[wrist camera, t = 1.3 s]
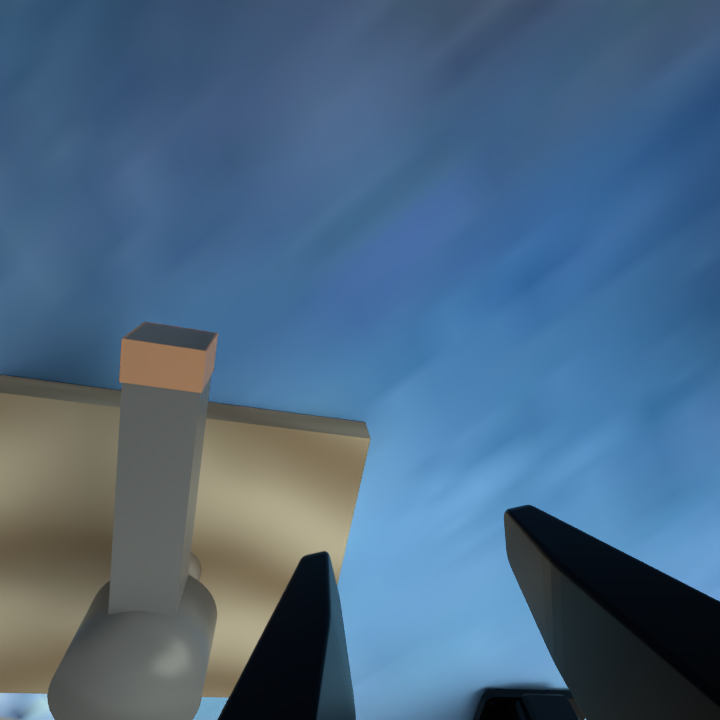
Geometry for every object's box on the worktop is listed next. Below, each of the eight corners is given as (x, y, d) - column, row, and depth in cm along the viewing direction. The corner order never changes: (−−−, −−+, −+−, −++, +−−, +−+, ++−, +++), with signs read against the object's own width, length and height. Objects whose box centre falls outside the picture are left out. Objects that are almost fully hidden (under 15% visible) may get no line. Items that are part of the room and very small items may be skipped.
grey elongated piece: (210, 664, 18) (194, 749, 15) (88, 660, 17) (46, 748, 14) (256, 338, 14) (246, 370, 12) (103, 314, 14) (52, 343, 11)
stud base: (310, 669, 24) (312, 744, 20) (6, 660, 21) (-47, 743, 18) (365, 422, 20) (378, 464, 17) (0, 375, 17) (-69, 413, 14)
